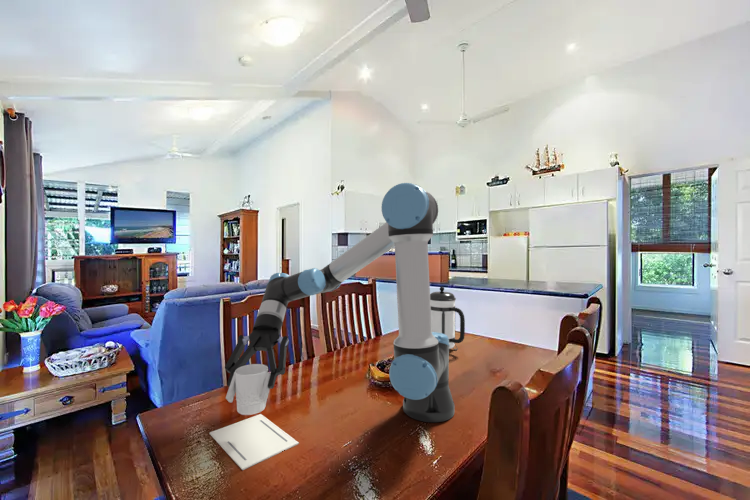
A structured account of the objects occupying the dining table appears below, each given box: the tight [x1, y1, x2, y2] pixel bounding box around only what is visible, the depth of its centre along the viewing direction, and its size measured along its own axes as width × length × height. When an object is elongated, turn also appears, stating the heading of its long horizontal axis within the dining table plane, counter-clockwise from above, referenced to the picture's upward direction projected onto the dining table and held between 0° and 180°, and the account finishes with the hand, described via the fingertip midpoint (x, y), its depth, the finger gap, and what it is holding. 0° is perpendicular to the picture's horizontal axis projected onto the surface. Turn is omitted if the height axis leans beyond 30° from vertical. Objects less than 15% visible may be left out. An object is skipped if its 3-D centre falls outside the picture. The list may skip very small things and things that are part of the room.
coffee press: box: [430, 286, 466, 351], centre depth 159 cm, size 17×16×30 cm
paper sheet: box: [209, 413, 300, 471], centre depth 84 cm, size 20×14×1 cm
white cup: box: [235, 363, 269, 416], centre depth 85 cm, size 8×8×10 cm
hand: (246, 400), depth 81 cm, fingers closed on white cup, 8 cm apart
